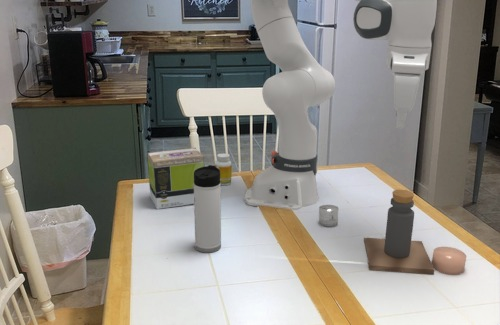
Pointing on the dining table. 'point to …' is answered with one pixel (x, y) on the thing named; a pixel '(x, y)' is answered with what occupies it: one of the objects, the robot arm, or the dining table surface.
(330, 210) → the tin
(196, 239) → the travel mug
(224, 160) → the supplement bottle
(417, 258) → the board
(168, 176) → the tea box
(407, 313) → the dining table surface
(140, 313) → the dining table surface
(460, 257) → the peach dome knob
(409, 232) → the bottle
